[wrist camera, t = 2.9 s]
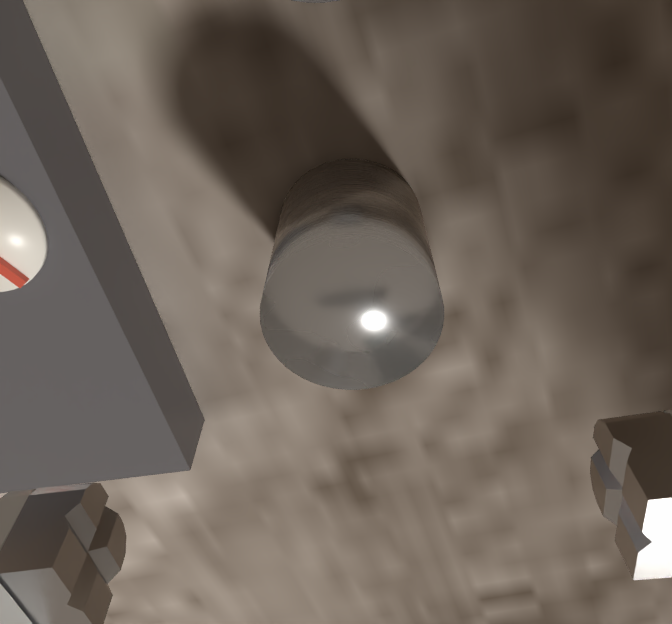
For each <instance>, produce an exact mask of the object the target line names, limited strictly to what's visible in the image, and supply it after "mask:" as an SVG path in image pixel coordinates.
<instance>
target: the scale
mask: <svg viewBox="0 0 672 624" xmlns="http://www.w3.org/2000/svg"><path fill="white" fill-rule="evenodd" d="M203 423H204V417H203V415H202V413H201V410H200V408H199V406H198V404H197V401H196V399H195V397H194V394H193V392H192V390H191V387H190V385H189V383H188V381H187V378H186V376H185V374H184V371H183V369H182V367H181V364H180V362H179V360H178V358H177V355H176V353H175V351H174V348H173V346H172V344H171V341H170V339H169V337H168V334H167V332H166V330H165V328H164V325H163V323H162V321H161V318H160V316H159V314H158V311H157V309H156V307H155V305H154V302H153V300H152V298H151V295H150V293H149V291H148V288H147V286H146V284H145V281H144V279H143V277H142V275H141V272H140V270H139V268H138V265H137V263H136V261H135V258H134V256H133V254H132V252H131V249H130V247H129V245H128V242H127V240H126V238H125V235H124V233H123V231H122V229H121V226H120V224H119V222H118V219H117V217H116V215H115V212H114V210H113V208H112V205H111V203H110V201H109V199H108V196H107V194H106V192H105V189H104V187H103V185H102V182H101V180H100V178H99V176H98V173H97V171H96V169H95V166H94V164H93V162H92V159H91V157H90V155H89V153H88V150H87V148H86V146H85V143H84V141H83V139H82V136H81V134H80V132H79V129H78V127H77V125H76V123H75V120H74V118H73V116H72V113H71V111H70V109H69V106H68V104H67V102H66V100H65V97H64V95H63V93H62V90H61V88H60V86H59V83H58V81H57V79H56V76H55V74H54V72H53V70H52V67H51V65H50V63H49V60H48V58H47V56H46V53H45V51H44V49H43V47H42V44H41V42H40V40H39V37H38V35H37V33H36V30H35V28H34V26H33V24H32V21H31V19H30V17H29V14H28V12H27V10H26V7H25V5H24V3H23V0H0V493H7V492H9V491H18V490H28V489H37V488H44V487H54V486H64V485H73V484H81V483H89V482H97V481H106V480H114V479H122V478H130V477H139V476H147V475H155V474H163V473H172V472H180V471H188V470H191V466H192V463H193V459H194V455H195V452H196V448H197V445H198V441H199V438H200V434H201V430H202V427H203Z"/></svg>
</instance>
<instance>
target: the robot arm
mask: <svg viewBox="0 0 672 624" xmlns="http://www.w3.org/2000/svg"><path fill="white" fill-rule="evenodd" d="M593 438H594V440H595V442H596V444H597V446H598V448H599V450H598V451H597V452H596V453H595V454H594V455H593V456H592V457H591V465H590V475H591V482H592V488H593V492H594V495H595V498H596V501H597V504H598V506H599V508H600V510H601V512H602V515H603V516H604V517H605V518H607V519H608V520H609V521H611V522H612V523H614V524H615V525H617V528H616V535H615V543H616V545H617V547H618V549H619V551H620V553H621V555H622V557H623V560H624V562H625V564H626V566H627V568H628V570H629V572H630V574H631V576H632V578H633V580H641V579H655V578H668V577H672V410H667V411H663V412H661V411H658V412H651V413H643V414H636V415H628V416H621V417H614V418H606V419H599V420H597V422H596V424H595V426H594V434H593ZM108 497H109V496H108V495H107V493H106V491H105V490H104V488H103V487H102V485H101V483H85V484H75V485H64V486H54V487H44V488H37V489H28V490H18V491H9V492H8V493H7V494H5V495H4V496H3V497H1V498H0V624H104V620H105V617H106V614H107V611H108V608H109V605H110V602H111V599H112V596H113V595H112V593H111V590H110V588H109V586H108V583H109V582H110V581H111V580H112V579H113V577H114V576H115V575H116V574H117V573H118V572H119V571H120V570H121V567H122V564H123V560H124V557H125V553H126V532H125V528H124V524H123V522H122V520H121V518H120V516H119V514H118V513H116V512H115V511H113V510H111V509H109V508H108V507H106V506H105V505H106V502H107V499H108Z"/></svg>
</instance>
